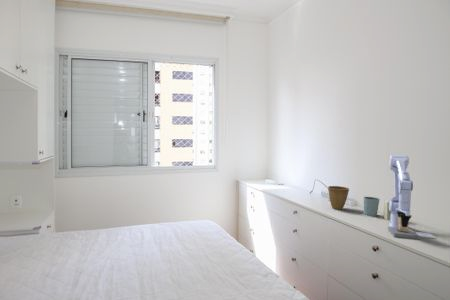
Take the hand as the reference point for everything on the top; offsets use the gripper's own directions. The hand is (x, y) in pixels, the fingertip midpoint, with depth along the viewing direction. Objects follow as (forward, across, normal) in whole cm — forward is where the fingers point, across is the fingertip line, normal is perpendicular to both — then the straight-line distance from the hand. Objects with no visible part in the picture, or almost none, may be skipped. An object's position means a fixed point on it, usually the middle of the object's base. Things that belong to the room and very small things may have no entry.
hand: (403, 225), depth 180 cm
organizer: (+5, 0, 0) cm, 5 cm away
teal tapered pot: (+5, -44, -9) cm, 45 cm away
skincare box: (+5, -35, +1) cm, 35 cm away
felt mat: (+5, -2, +11) cm, 12 cm away
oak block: (+3, 0, 0) cm, 3 cm away
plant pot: (+5, -56, -30) cm, 64 cm away
